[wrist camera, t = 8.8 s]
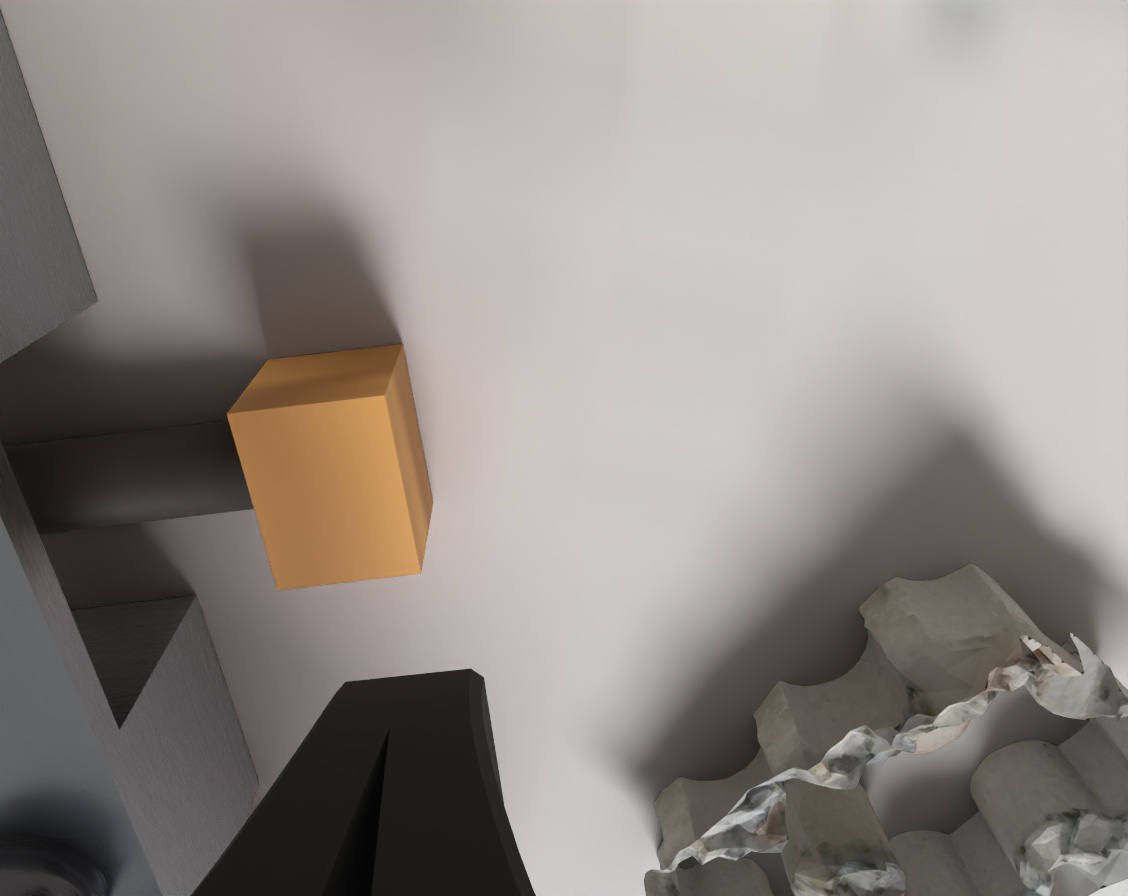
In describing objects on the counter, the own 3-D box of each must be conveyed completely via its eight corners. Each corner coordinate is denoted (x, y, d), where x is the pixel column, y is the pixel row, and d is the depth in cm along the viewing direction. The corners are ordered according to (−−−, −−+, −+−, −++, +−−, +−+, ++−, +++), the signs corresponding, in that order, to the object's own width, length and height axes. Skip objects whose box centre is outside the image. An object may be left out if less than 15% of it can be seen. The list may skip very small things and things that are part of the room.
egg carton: (942, 508, 18) (1054, 627, 14) (1146, 692, 20) (1287, 836, 17) (593, 815, 21) (610, 980, 17) (805, 946, 23) (861, 1117, 20)
